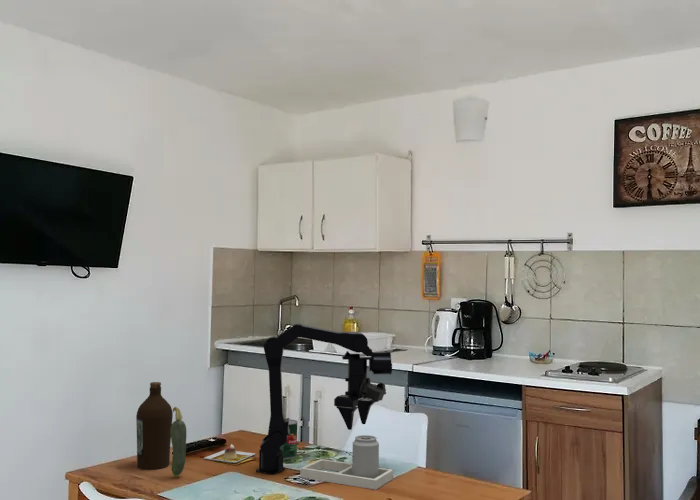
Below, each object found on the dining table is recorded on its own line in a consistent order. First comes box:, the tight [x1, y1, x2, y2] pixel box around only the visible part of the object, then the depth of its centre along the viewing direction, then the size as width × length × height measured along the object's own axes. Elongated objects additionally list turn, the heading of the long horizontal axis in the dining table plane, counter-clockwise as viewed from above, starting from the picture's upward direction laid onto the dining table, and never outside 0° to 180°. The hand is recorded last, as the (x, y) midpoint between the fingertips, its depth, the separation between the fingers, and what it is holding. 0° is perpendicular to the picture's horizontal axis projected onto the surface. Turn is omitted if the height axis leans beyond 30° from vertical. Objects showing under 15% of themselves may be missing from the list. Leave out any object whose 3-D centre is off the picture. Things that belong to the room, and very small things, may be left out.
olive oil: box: [135, 381, 174, 471], centre depth 203 cm, size 11×11×25 cm
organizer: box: [299, 458, 394, 490], centre depth 192 cm, size 24×12×2 cm, turn 63°
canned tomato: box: [280, 418, 298, 460], centre depth 216 cm, size 8×8×11 cm
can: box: [351, 434, 380, 479], centre depth 189 cm, size 8×8×12 cm
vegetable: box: [171, 406, 187, 478], centre depth 190 cm, size 4×4×20 cm
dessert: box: [203, 443, 256, 464], centre depth 213 cm, size 12×12×5 cm
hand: (356, 426), depth 200 cm, fingers open, 9 cm apart
